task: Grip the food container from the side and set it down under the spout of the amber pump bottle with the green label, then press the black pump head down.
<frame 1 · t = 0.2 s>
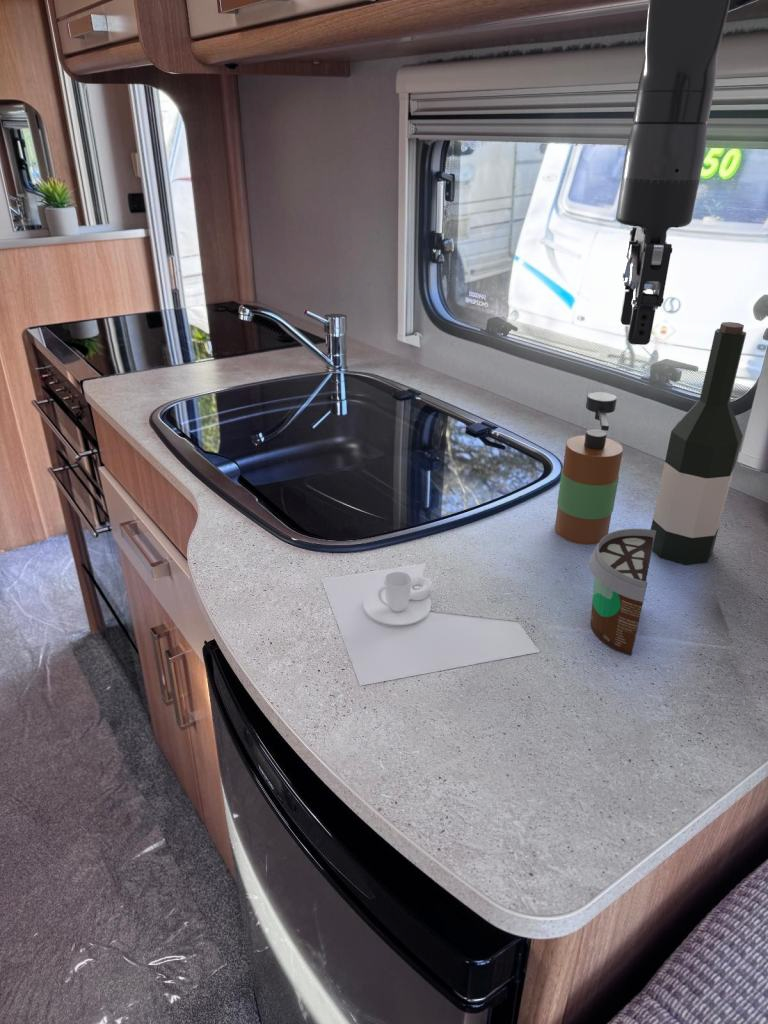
hand: (633, 333, 81), 29 cm above the worktop, tool pointing down, fingers open, 8 cm apart
teacup and saucer: (422, 614, 84), on the worktop
wine bottle: (679, 550, 97), on the worktop
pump: (602, 415, 89), point 18 cm above the worktop, slide at 0.1 cm
food container: (607, 625, 82), on the worktop
pump bottle: (580, 531, 101), on the worktop
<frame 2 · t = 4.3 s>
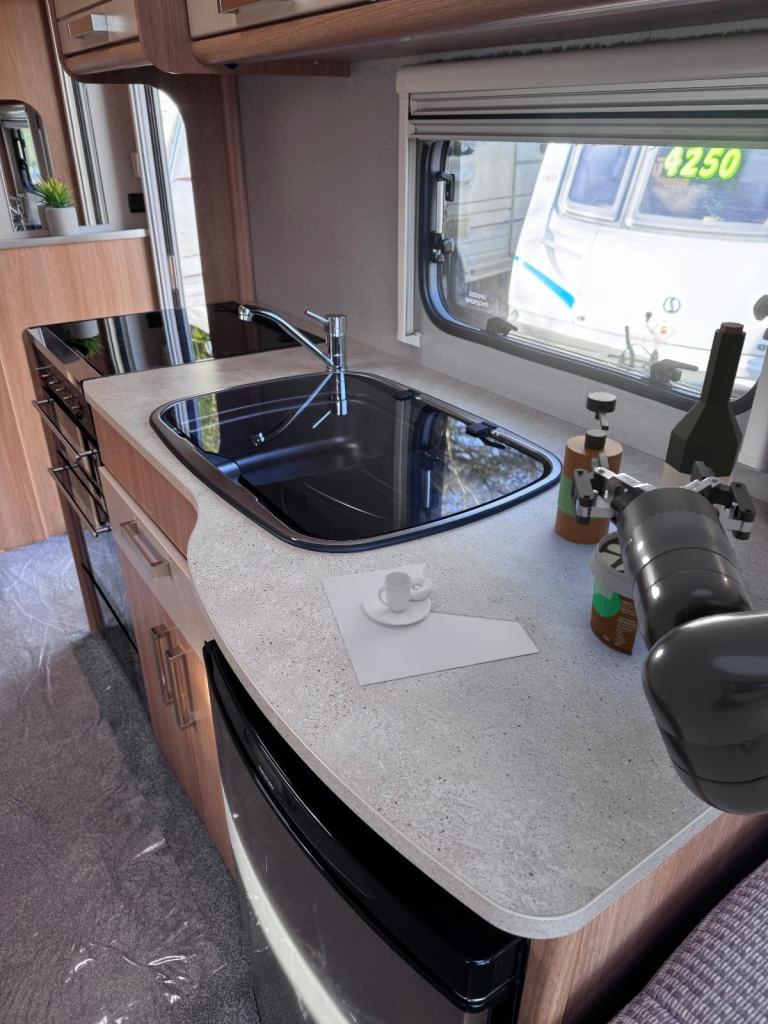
hand: (648, 466, 67), 22 cm above the worktop, tool horizontal, fingers open, 8 cm apart
nothing on the worktop moved.
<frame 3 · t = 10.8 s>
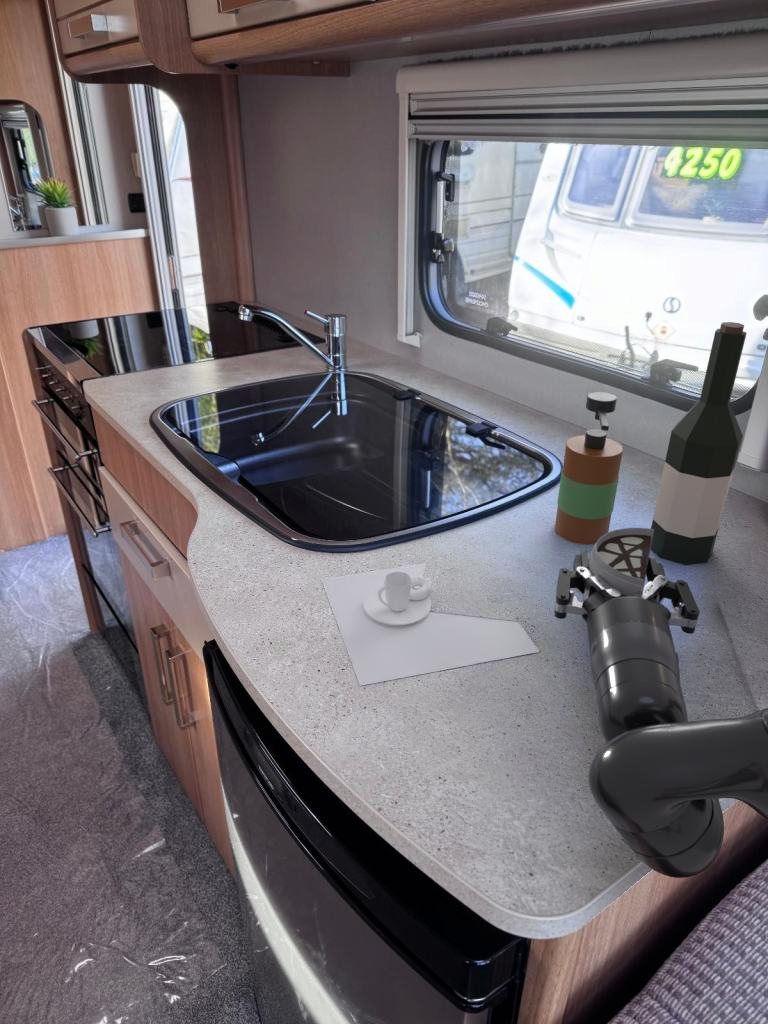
hand: (616, 561, 81), 7 cm above the worktop, tool horizontal, fingers closed on food container, 6 cm apart
food container: (607, 625, 82), on the worktop, touching gripper
everything else where it was.
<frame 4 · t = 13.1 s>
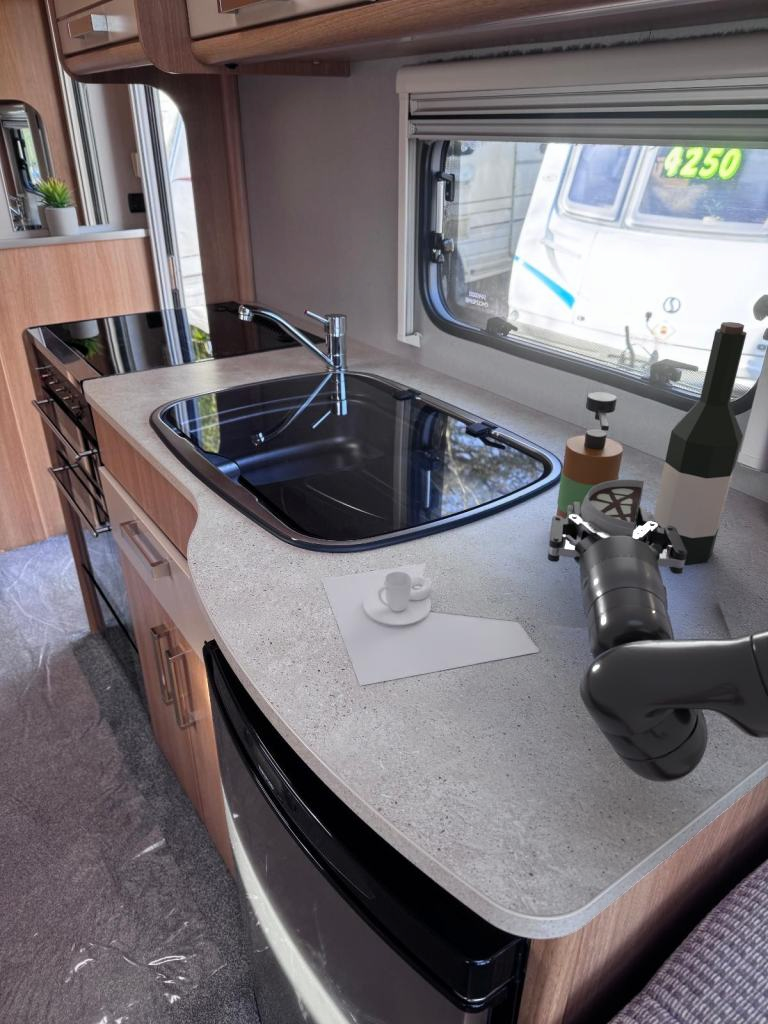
hand: (608, 511, 84), 11 cm above the worktop, tool horizontal, fingers closed on food container, 6 cm apart
food container: (599, 574, 85), point 3 cm above the worktop, touching gripper
everything else where it was.
when the fingers open (7 cm above the worktop, at t = 15.6 s): food container stays where it is, on the worktop.
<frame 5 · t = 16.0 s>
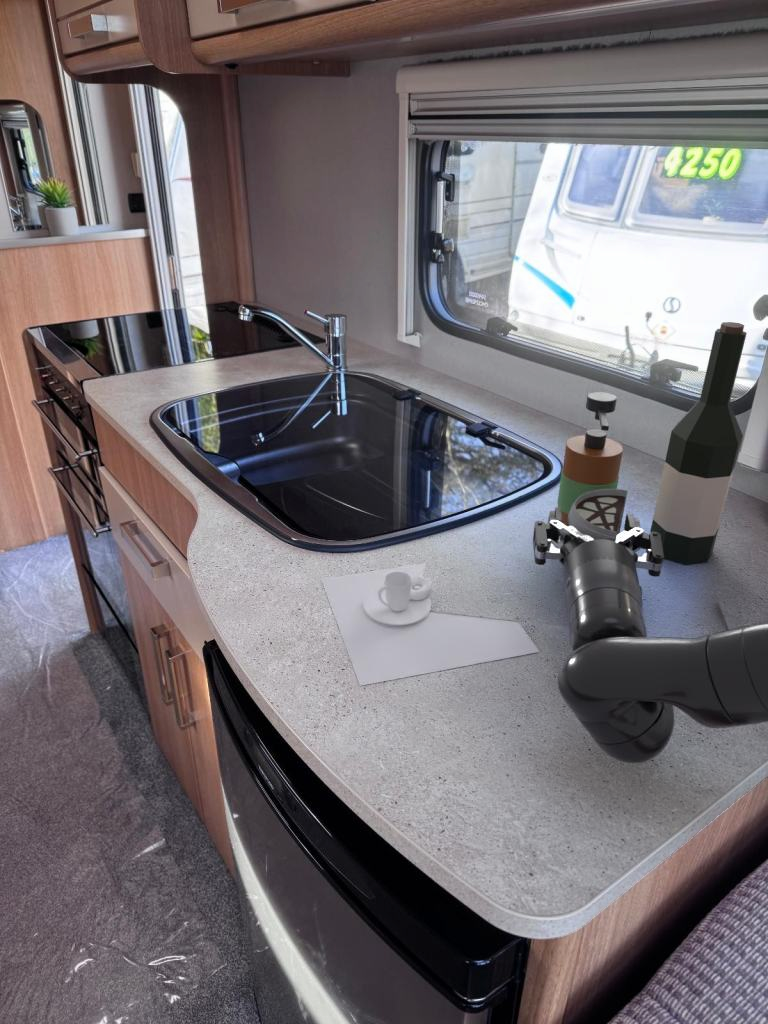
hand: (592, 517, 89), 7 cm above the worktop, tool horizontal, fingers open, 8 cm apart
food container: (584, 576, 91), on the worktop
everything else where it was.
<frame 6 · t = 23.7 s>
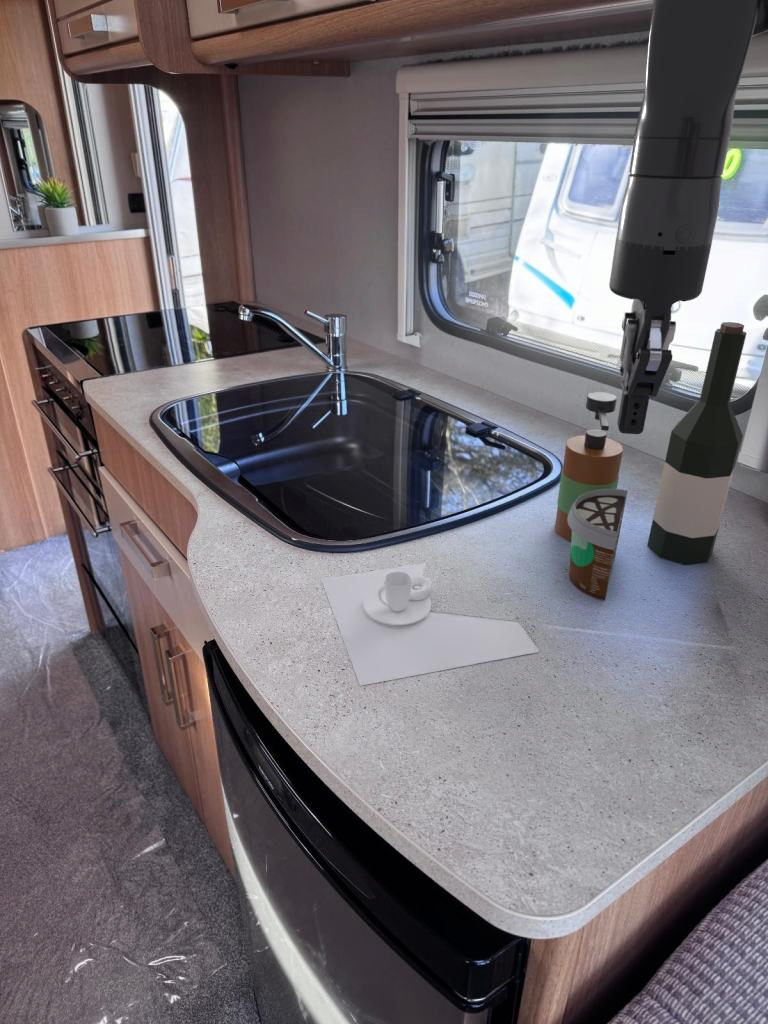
hand: (629, 430, 68), 25 cm above the worktop, tool pointing down, fingers closed
nothing on the worktop moved.
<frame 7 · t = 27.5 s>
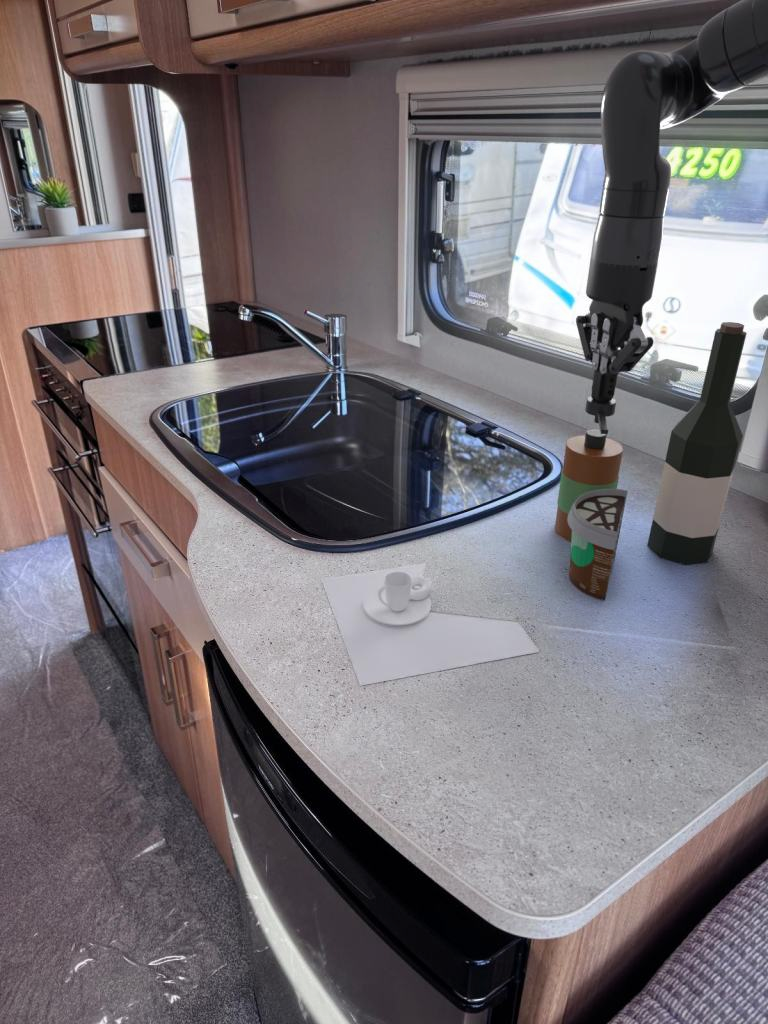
hand: (601, 399, 91), 19 cm above the worktop, tool pointing down, fingers closed
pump: (601, 419, 90), point 18 cm above the worktop, slide at -0.3 cm, touching gripper
everything else where it was.
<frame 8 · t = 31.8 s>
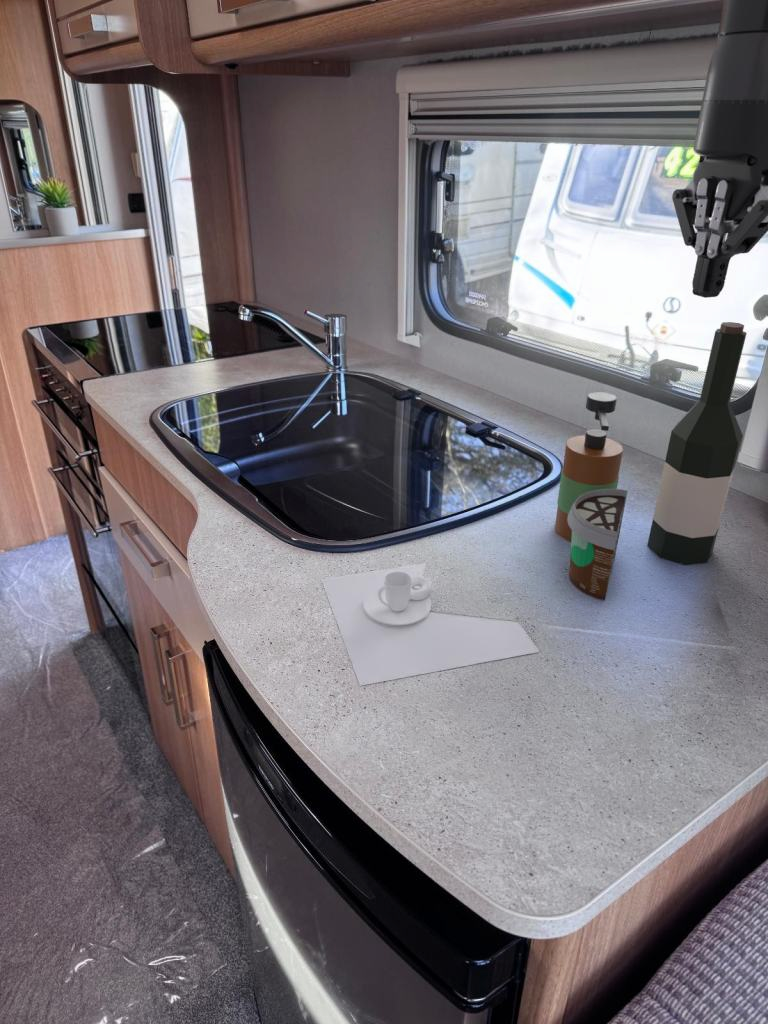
hand: (705, 295, 72), 35 cm above the worktop, tool pointing down, fingers closed
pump: (602, 415, 89), point 18 cm above the worktop, slide at 0.1 cm
everything else where it was.
at the end: food container 0.2 cm from the target spot on the worktop beside the pump bottle, on the worktop; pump pushed in 1.3 cm at the most during the clip, back to where it started at the end; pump slide at 0.1 cm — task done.
